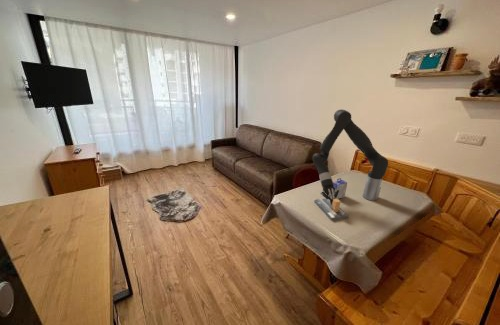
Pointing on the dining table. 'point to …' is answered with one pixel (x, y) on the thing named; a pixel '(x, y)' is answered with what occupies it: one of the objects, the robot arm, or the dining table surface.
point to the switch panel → (326, 208)
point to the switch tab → (335, 205)
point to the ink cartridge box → (340, 188)
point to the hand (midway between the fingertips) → (333, 205)
